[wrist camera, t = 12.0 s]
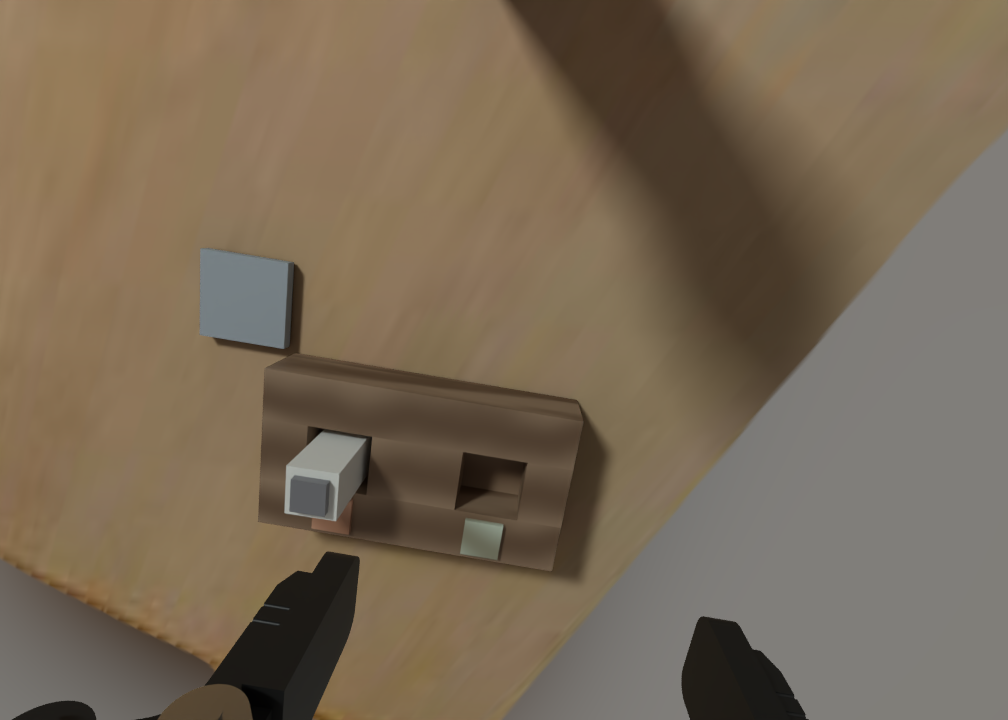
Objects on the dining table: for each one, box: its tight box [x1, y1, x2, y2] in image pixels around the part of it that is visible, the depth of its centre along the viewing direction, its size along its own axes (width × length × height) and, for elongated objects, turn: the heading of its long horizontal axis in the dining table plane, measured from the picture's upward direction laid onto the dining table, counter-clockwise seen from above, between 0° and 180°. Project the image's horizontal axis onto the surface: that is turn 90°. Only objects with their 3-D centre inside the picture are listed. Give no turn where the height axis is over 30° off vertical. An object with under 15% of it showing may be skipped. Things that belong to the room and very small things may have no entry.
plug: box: [284, 429, 372, 521], centre depth 38 cm, size 4×4×10 cm
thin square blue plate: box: [200, 248, 294, 349], centre depth 40 cm, size 7×7×1 cm
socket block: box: [258, 353, 584, 571], centre depth 41 cm, size 13×24×5 cm, turn 81°
